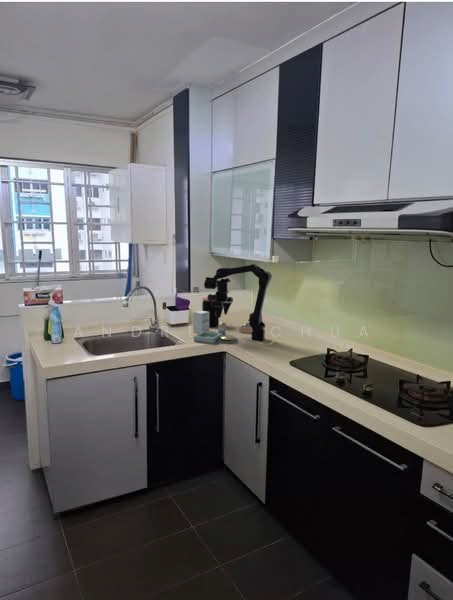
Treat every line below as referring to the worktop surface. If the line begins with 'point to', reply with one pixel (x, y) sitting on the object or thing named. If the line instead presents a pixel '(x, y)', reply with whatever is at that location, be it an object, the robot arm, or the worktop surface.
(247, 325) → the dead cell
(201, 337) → the teal shallow square tray
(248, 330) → the pink open-ended box
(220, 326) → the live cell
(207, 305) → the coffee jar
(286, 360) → the worktop surface
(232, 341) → the checker cradle
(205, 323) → the supplement box
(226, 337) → the brass disc
